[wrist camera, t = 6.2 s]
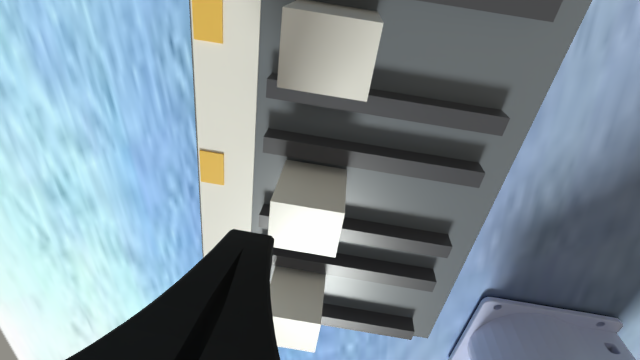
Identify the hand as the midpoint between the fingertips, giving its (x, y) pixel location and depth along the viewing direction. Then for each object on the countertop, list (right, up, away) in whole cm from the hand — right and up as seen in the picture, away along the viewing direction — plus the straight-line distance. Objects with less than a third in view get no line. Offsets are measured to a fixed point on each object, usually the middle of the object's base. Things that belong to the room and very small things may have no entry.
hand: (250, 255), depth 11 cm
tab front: (+3, +8, +3) cm, 9 cm away
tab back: (+1, -4, +10) cm, 11 cm away
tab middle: (+2, +2, +6) cm, 7 cm away
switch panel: (+4, +3, +9) cm, 10 cm away
